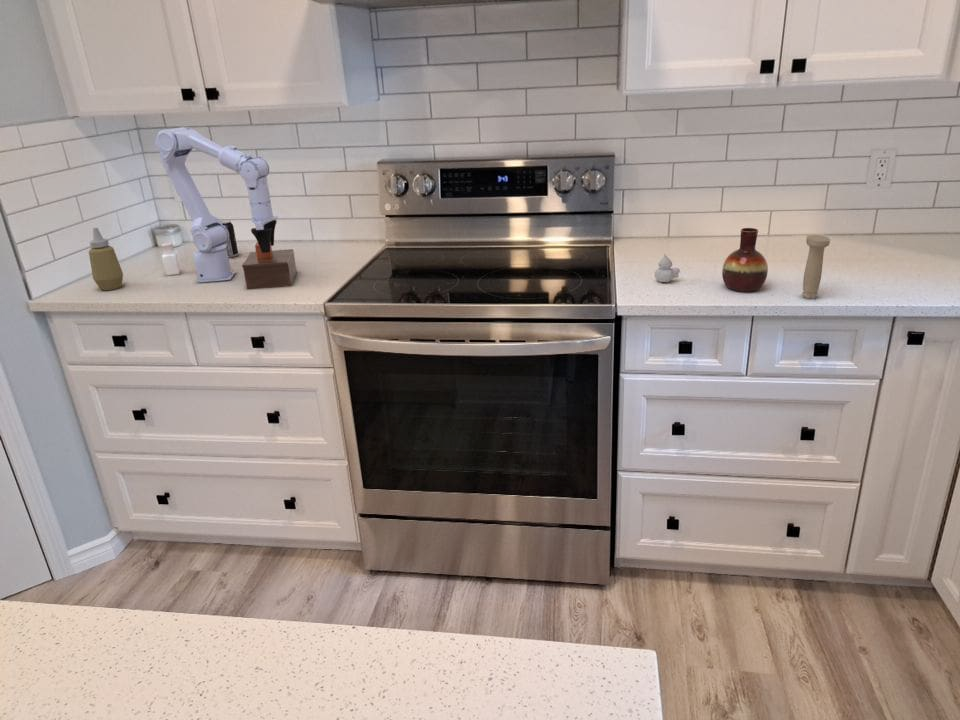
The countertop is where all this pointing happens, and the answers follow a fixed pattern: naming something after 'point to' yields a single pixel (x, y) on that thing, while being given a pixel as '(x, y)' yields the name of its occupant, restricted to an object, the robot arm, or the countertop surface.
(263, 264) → the chest lid
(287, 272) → the chest
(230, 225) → the black upright box
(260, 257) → the block
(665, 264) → the grey rounded figurine
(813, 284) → the handle
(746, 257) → the vase
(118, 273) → the squeeze bottle
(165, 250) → the pepper shaker
